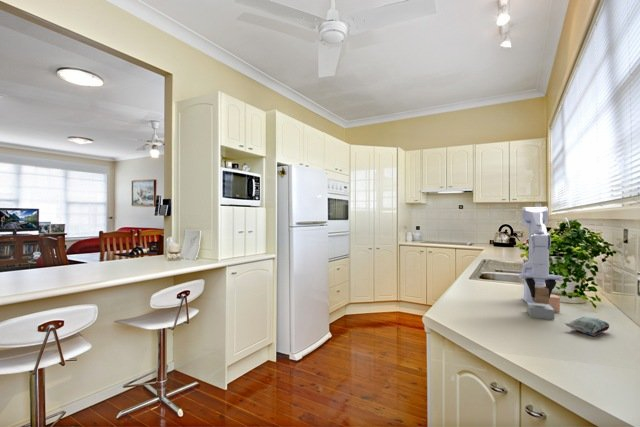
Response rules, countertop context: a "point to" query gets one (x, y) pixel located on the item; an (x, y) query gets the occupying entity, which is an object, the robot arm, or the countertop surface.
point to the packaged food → (588, 325)
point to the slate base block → (540, 310)
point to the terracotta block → (554, 303)
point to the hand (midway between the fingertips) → (540, 297)
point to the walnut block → (541, 295)
